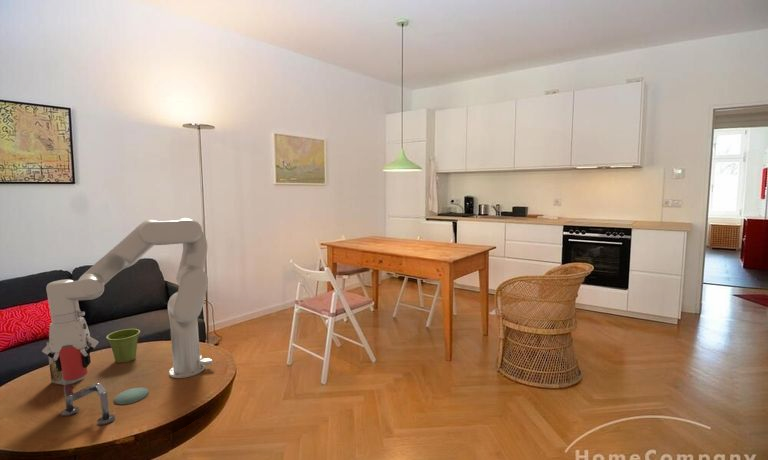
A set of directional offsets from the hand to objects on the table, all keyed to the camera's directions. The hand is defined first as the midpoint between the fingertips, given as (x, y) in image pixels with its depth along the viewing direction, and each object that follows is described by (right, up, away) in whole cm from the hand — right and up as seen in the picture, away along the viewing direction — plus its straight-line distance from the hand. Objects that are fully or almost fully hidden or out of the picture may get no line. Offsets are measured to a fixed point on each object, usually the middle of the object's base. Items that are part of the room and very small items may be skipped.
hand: (74, 367), depth 134 cm
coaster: (+17, -11, +3) cm, 21 cm away
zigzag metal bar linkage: (+11, -12, -8) cm, 19 cm away
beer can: (0, -3, 0) cm, 3 cm away
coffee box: (-14, -10, +15) cm, 23 cm away
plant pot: (-4, -8, +33) cm, 34 cm away
